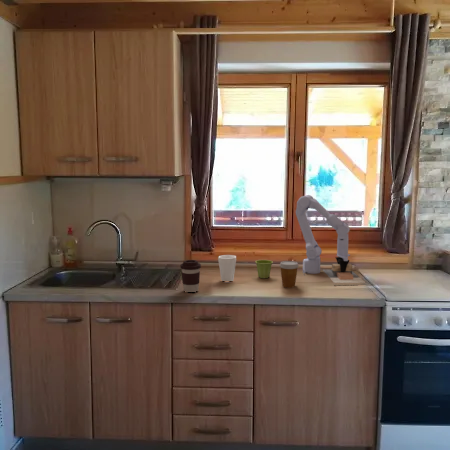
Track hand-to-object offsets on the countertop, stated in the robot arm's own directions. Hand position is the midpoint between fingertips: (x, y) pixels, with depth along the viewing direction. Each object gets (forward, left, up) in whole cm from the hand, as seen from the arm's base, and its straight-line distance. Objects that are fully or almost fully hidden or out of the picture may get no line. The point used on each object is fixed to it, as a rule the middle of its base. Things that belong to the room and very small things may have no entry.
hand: (342, 271), depth 254 cm
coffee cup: (-80, -24, -4) cm, 84 cm away
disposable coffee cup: (-31, -16, -4) cm, 35 cm away
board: (0, -2, -3) cm, 4 cm away
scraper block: (0, 0, -1) cm, 1 cm away
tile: (0, -6, -2) cm, 6 cm away
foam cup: (-62, -5, -4) cm, 62 cm away
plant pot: (-42, +2, -4) cm, 42 cm away
